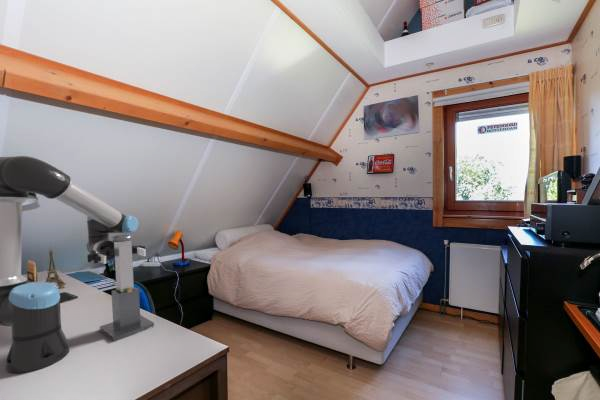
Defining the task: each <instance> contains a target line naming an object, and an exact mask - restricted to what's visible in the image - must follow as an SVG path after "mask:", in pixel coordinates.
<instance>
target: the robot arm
mask: <svg viewBox="0 0 600 400" xmlns="http://www.w3.org/2000/svg"><path fill="white" fill-rule="evenodd" d="M29 193H32V194H37V195H41V196H42V197H45V198H46V199H49V200H54V199H55V200H56V201H59V202H61V203H63V204H65V205H67V206H68V207H70V208H72V209H74V210H76V212H79V213H81V214H83V215H85V216H87V218H86V219H87V221H86V224H87V236H88V237H87V238H88V240H87V243H86V246H85V247H86V250H87V252H88V254H87V262H88V263H91V262H93V264H98V263H101V264H104V265H105V264H107V263H108V262H107V261H109V260H112V259H115V250H114V242H113V240H110V237H109V235H110V234H123V235H128V234H133V233H135V232H136V231H137V230H138V227H139V221H138V219H137V217H135V216H133V215H129V214H128V215H125V214H123V213H122V212H120V211H119V210H117V209H115V207H113V206H111V205H109V204H107V202H105V201H103V200H101V199H100V198H99V197H96V196H95V194H92V193H91V192H89V191H87V190H86V189H84V188H83V187H81V186H80V185H78V184H76V183H75V182H74V181H72V177H71V176H70V175H68V174H66V173H65V172H64V171H62V170H60V169H59V168H57V167H55V166H54V165H52V164H50V163H48V162H45V161H43V160H41V159H38V158H36V157H32V156H27V155H18V156H17V155H16V156H0V327H11V336H12V337H11V339H12V340H11V341H12V342H11V345H10V348H9V351H8V354H7V357H6V360H5V370H6V371H7V372H8V373H11V374H23V373H29V372H34V371H37V370H41V369H44V368H46V367H48V366H50V365H53V364H55V363H57V362H59V361H60V360H63V358H65V357H66V356H67V355H68V354H69V353H70V342H69V341H68V339H67V337H66V334H65V333H64V331H63V329H62V318H61V317H62V315H61V314H62V313H61V303H60V294H59V293H60V292H59V290H60V289H58V287H59V286H58V285H56V283H55V284H54V282H52V283H48V282H46V281H39V282H37V281H35V282H29V283H28V278H27V277H25V276H24V275H22V246H23V243H22V240H23V239H22V238H23V237H22V235H23V233H22V232H23V203H24V202H26V201H27V200H29ZM135 254H136V255H138V256H141V257H146V256H147V249H146V246H145V245H132V255H135Z"/></svg>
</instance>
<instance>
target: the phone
mask: <svg viewBox="0 0 600 400" xmlns="http://www.w3.org/2000/svg"><path fill="white" fill-rule="evenodd" d="M59 294H60V304H63V303H66V302H69V301H73V300H77V299H78V295H75V294H71V293H69V292H66V291H63V292H59Z"/></svg>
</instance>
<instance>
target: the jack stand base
mask: <svg viewBox="0 0 600 400" xmlns="http://www.w3.org/2000/svg"><path fill="white" fill-rule="evenodd" d="M140 304H141V303H140V289H139V288H137V287H135V286H134V290H132V289H130V290H127V292H124V293H118V292H117V291H116V289H114V290H111V306H112V310H111V311H112V322H108V323H106V324H103V325H100V326H99V332H101V333H102V334H104V336H106V338H107V337H108V339H110V340H111V341H112V342H117V341H120V340H123V339H126V338H128V337H130V336H133V335H135V334H138V332H139V333H141V332H144V331H146V329H147V330H149V329H151V328H150V327H152V328H154V327H155V322H153V321H151V320H150V319H149V318H147V317H145V316H143V315H141V310H140V309H141V307H140ZM153 326H154V327H153ZM148 328H149V329H148ZM143 330H144V331H143Z"/></svg>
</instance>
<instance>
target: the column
mask: <svg viewBox="0 0 600 400" xmlns="http://www.w3.org/2000/svg"><path fill="white" fill-rule="evenodd" d="M132 241H133V235H132V234H119V235H115V236H112V242H114V250H115V258H114V266H115V285H116V286H115V287H116V288H115V290H116V291H117V292H118V293H124V292H127V290H130V289H132V290H134V287H135V286H134V283H135V282H134V268H133V254H132V246H133V245H132Z"/></svg>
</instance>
